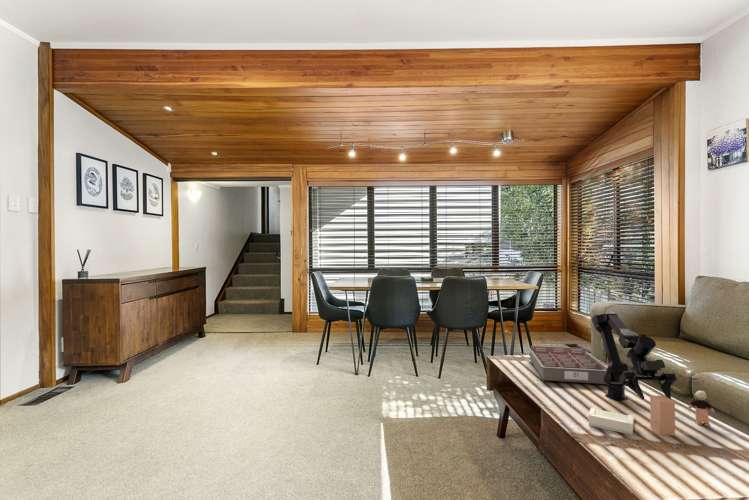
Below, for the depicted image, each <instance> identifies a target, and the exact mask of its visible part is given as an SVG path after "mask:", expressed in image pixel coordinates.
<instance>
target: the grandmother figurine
mask: <svg viewBox="0 0 749 500" xmlns="http://www.w3.org/2000/svg"><path fill="white" fill-rule="evenodd" d="M694 396H695V397H696V398H697V399H695V400H692V401H691V402H690V403H689V405H688V406H687V407H688V409H692V408H693V407H695V424H696V425H698V426H705V427H710V426H711V423H710V417H709V411H710V413H712V414H715V412H716V411H715V410H714V408H713V406H712V405H711V404H710V403H709V401H707V400H706V399H707V393H706V392H705V391H704V390H697V391H696V392H695V393H694ZM708 409H709V410H708Z"/></svg>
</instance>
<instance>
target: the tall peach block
mask: <svg viewBox="0 0 749 500" xmlns="http://www.w3.org/2000/svg"><path fill="white" fill-rule="evenodd" d="M649 405H650V407H649V408H650V410H649V411H650V414H649V415H650V416H649V417H650V418H649V419H650V420H649V423H650V426H649V427H650V428H651V429H652V430H653V431H654V432H656V433H657V434H658V435H660V436H673V437H675V436H676V402H675V400H672V398H671V399H669V398H667V397H666V396H665V395H652V394H651V395H650V396H649Z"/></svg>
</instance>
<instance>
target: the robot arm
mask: <svg viewBox="0 0 749 500" xmlns="http://www.w3.org/2000/svg"><path fill="white" fill-rule="evenodd" d="M591 322H592V324H593V326H594V329H595V330H596V331H597V332H598V333H599V334H600V337H601V340H602V343H603V348H604V351H605V354H606V357H607V362H608V365H607V366H606V367H607V373H606V375H605V376H604V382H605V383H607V384H606V385H607V394H605V395H604V396H605V397H607V398H610V399H611V400H615V401H624V400H628V399H629V397H627V396H626V395H625V394H626V393H625V392H626V391H625V387H628V388H629V389H630V390H631V391H632V392H633V393H635V394H636V395H637V396H638V397H639V398H640V399H641V400H645V395H644V393H643V391H642V388H641V386H640V384H639V381H642V382H643V381H644V382H645V381H647V382H658V383H659V385H660V387H659V388H660V389H661V391H662V392H663V394H664V396H666V397H667V398H669V399H671V400H672V393H671V390H672V389H671V388H672V385H673V384H674V383H675V382H676V381H677V380H678V377H677V375H676V373H674V372H662V373H661V374H660V375H656V374H658V371H661V370H662V369H665V368H666V365H665V362H664V360H663V359H656V360H649V359H648V358H647V356H649V355H650V354H651V353H652V351H653V350H654V349H655V347H656V346H657V343H656V340H654V339H652V338H651V337H650V336H647V334H646V333H640V334H638V333H637V332H635V331H633V330H630V329H629V328H628V327H627V326H626V324H625V323H624V322H623V321H622V319H621V318H620V317H619V315H618V313H616V312H604V313H602V314H594V315H593V317H592V318H591ZM613 331H614V333H615V334H616V335H617V336H618V340H617V341H618V342H619V345H620V346H621V347H622V349H628V351H627V353H626V358H629V359H630V361H631V365H632V367H631V369H632V370H633V371H630V370H629V367H628V365H627V364H626V363H623V362H622V361H621V358H620V355H619V352H618V348H617V344H616V342H615V341H616V340H615V338H614V334H613ZM634 371H635V372H634Z"/></svg>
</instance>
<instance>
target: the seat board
mask: <svg viewBox="0 0 749 500" xmlns="http://www.w3.org/2000/svg"><path fill="white" fill-rule="evenodd" d="M634 422H635V417H634V415H633V414H628V415H627V414H622V413H616V412H611V411H606V410H601V409H596V407H590V409H589V412H588V426H590V427H594V428H600V429H604V430H608V431H612V432H613V431H614V432H616V433H617V432H618V433H623V434H626V435H631V436H633V434H634Z"/></svg>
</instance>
